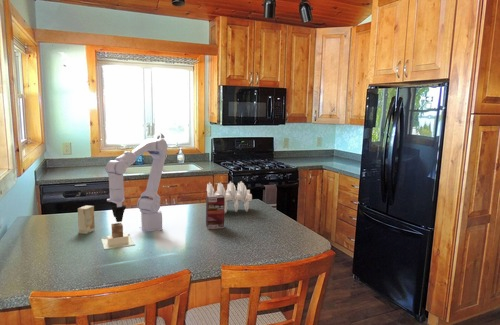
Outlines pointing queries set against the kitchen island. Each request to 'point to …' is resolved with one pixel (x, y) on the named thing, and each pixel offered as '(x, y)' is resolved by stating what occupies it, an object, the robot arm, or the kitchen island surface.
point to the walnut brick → (117, 230)
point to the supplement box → (215, 211)
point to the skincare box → (86, 219)
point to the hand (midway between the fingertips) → (117, 219)
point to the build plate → (106, 246)
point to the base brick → (117, 239)
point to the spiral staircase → (232, 194)
